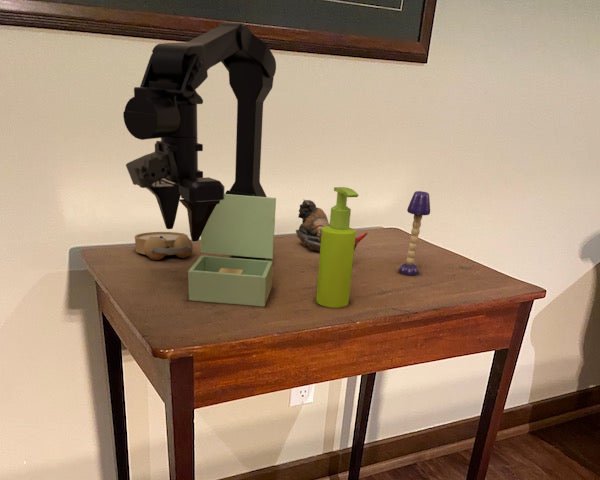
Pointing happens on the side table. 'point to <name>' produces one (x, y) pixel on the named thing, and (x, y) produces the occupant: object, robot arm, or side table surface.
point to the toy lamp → (415, 229)
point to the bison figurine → (311, 224)
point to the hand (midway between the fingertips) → (181, 234)
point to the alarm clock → (163, 244)
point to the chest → (230, 281)
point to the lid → (241, 227)
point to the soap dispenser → (336, 254)
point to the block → (231, 271)
